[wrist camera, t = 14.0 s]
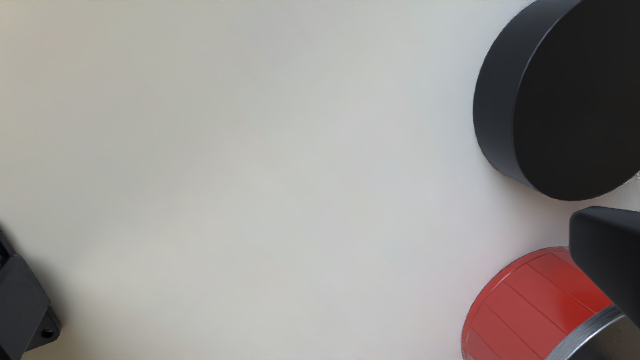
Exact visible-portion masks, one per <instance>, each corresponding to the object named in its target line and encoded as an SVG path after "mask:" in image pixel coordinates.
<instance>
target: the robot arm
mask: <svg viewBox="0 0 640 360" xmlns="http://www.w3.org/2000/svg"><path fill="white" fill-rule="evenodd" d="M569 254H570V256H571V259H572V260H573V262H574V263H575V264H576V265H577V266H578V267H579V268H580V269H581V270H582V271H583V272H584V274H585V275H586V276H587V277H588V278H589V279H590V280H591V281H592V282H593V283H594V284H595V285H596V286H597V287H598V288H599V289H600V290H601V291H602V292H603V293H604V294H605V295H606V296H607V297H608V298H609V299H610V300H611V301H612V302H613V303H614V304H615V306H616V307H617V308H618V309H619V310H620V311H621V312H622V313H623V314H624V315H625V316H626V317H627V318H628V319H629V320H630V321H631V322H632V323H633V324H634V325H635V326H636V327H637V328H638V329H639V330H640V212H637V211H630V210H622V209H615V208H607V207H600V206H591V207H587V208H585V209H582V210H579V211H577V212H574V213H573V214H572V215H571V217H570V220H569ZM49 304H50V299H49V298H48V296H47V295H46V293H45V292H44V290H43V288H42V287H41V285H40V284H39V282H38V281H37V279H36V278H35V276H34V274H33V273H32V271H31V270H30V268H29V267H28V265H27V264H26V262H25V261H24V259H23V258H22V257H21V256H19V255H17V254H16V253H15V252H14V250H13V249H12V247H11V246H10V244H9V242H8V241H7V239H6V238H5V236H4V235H3V233H2V232H1V230H0V360H21V358H22V356H23V354H24V352H26V351H28V350H31V349H34V348H37V347H39V346H42V345H45V344H47V343H50V342H53V341H54V340H56V339H57V338H58V337H59V335H60V333H61V331H62V324H61V322H60V321H59V319H58V318H57V316H56V315H55V313H54V312H53V310H52V309H51V307H50V305H49ZM44 329H51V330H52V331H53V332H46V331H45V330H44Z"/></svg>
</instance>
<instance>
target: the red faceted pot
mask: <svg viewBox="0 0 640 360" xmlns="http://www.w3.org/2000/svg"><path fill="white" fill-rule="evenodd" d="M612 304H614V303H613V302H612V301H611V300H610V299H609V298H608V297H607V296H606V295H605V294H604V293H603V292H602V291H601V290H600V289H599V288H598V287H597V286H596V285H595V284H594V283H593V282H592V281H591V280H590V279H589V278H588V277H587V276H586V275H585V274H584V272H583V271H582V270H581V269H580V268H579V267H578V266H577V265H576V264H575V263H574V262H573V260H572V259H571V256H570V254H569V247H561V246H559V247H549V248H545V249H540V250H537V251H535V252H532V253H529V254H527V255H525V256H523V257H521V258H519V259H518V260H516V261H514V262H513V263H511V264H510V265H508V266H507V267H506V268H504V269H503V270H502V271H500V272H499V273H498V274H497V275H496V276H495V277H494V278H493V279H492V280H491V281H490V282H489V283H488V284H487V285H486V286H485V287H484V289H483V290H482V291H481V293H480V294H479V295H478V297H477V298H476V300H475V302H474V303H473V305H472V307H471V309H470V311H469V313H468V315H467V317H466V320H465V323H464V326H463V331H462V337H461V352H462V356H463V360H545V359H546V357H547V356H548V355H549V354H550V352H551V351H552V350H553V349H554V348H555V347H556V346H557V345H558V344H559V343H560V342H561V341H562V340H563V339H564V338H565V337H566V336H567V335H568V334H570V333H571V332H572V331H573V330H574V329H575V328H576V327H578V326H579V325H580V324H582V323H583V322H584V321H586V320H587V319H588V318H590V317H591V316H593V315H594V314H596V313H598V312H599V311H601V310H603V309H604V308H606V307H608V306H610V305H612Z"/></svg>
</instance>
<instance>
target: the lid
mask: <svg viewBox="0 0 640 360" xmlns="http://www.w3.org/2000/svg"><path fill="white" fill-rule="evenodd" d="M545 360H640V330H639V329H638V328H637V327H636V326H635V325H634V324H633V323H632V322H631V321H630V320H629V319H628V318H627V317H626V316H625V315H624V314H623V313H622V312H621V311H620V310H619V309H618V308H617V307H616V306H615V304H612V305H610V306H608V307H606V308H604V309H603V310H601V311H599V312H598V313H596V314H594V315H593V316H591V317H590V318H588V319H587V320H586V321H584V322H583V323H582V324H580V325H579V326H578V327H576V328H575V329H574V330H573V331H572V332H571V333H570V334H568V335H567V336H566V337H565V338H564V339H563V340H562V341H561V342H560V343H559V344H558V345H557V346H556V347H555V348H554V349H553V350H552V351H551V352H550V354H549V355H548V356H547V357H546V359H545Z"/></svg>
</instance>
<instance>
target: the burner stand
mask: <svg viewBox="0 0 640 360" xmlns="http://www.w3.org/2000/svg"><path fill="white" fill-rule="evenodd" d="M473 122H474V128H475V133H476V137H477V140H478V143H479V145H480V147H481V149H482V152H483V154H484V155H485V156H486V158H487V159H488V161H489V162H490V163H491V164H492V165H493V166H494V167H495V168H496V169H497V170H498V171H500V172H501V173H502V174H504V175H506V176H508V177H510V178H512V179H514V180H516V181H518V182H520V183H522V184H524V185H526V186H528V187H530V188H532V189H534V190H536V191H538V192H540V193H542V194H544V195H546V196H548V197H551V198H554V199H558V200H564V201H581V200H587V199H592V198H595V197H598V196H601V195H603V194H605V193H608V192H610V191H612V190H614V189H615V188H617V187H619V186H620V185H622V184H624V183H625V182H626V181H628V180H629V179H630V178H632V177H633V176H634V175H635V174H636V173H637V172H639V171H640V0H537V1H535V2H533V3H532V4H530V5H529V6H528V7H526V8H525V9H523V10H522V11H521V12H520V13H519V14H517V15H516V16H515V17H514V18H513V19H512V20H511V21H510V22H509V23H508V24H507V26H506V27H505V28H504V29H503V30H502V31H501V33H500V34H499V36H498V37H497V38H496V40H495V41H494V43H493V44H492V46H491V48H490V50H489V52H488V54H487V55H486V57H485V60H484V62H483V65H482V67H481V69H480V73H479V76H478V79H477V82H476V87H475V93H474V101H473Z"/></svg>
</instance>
